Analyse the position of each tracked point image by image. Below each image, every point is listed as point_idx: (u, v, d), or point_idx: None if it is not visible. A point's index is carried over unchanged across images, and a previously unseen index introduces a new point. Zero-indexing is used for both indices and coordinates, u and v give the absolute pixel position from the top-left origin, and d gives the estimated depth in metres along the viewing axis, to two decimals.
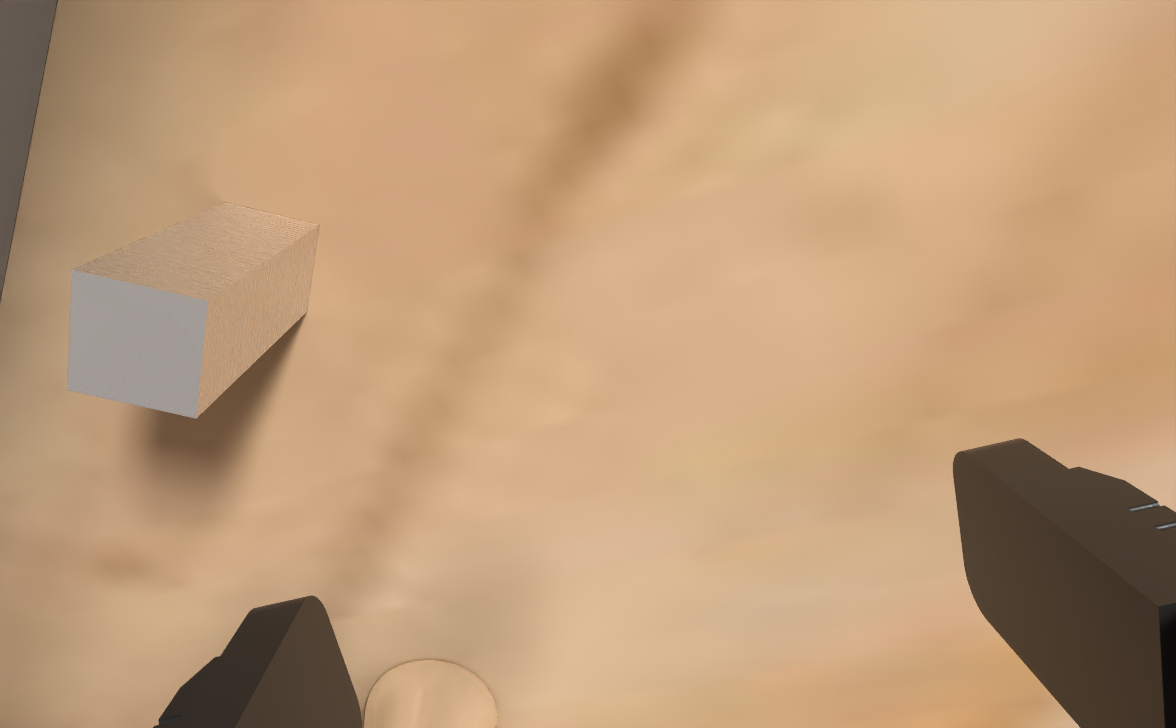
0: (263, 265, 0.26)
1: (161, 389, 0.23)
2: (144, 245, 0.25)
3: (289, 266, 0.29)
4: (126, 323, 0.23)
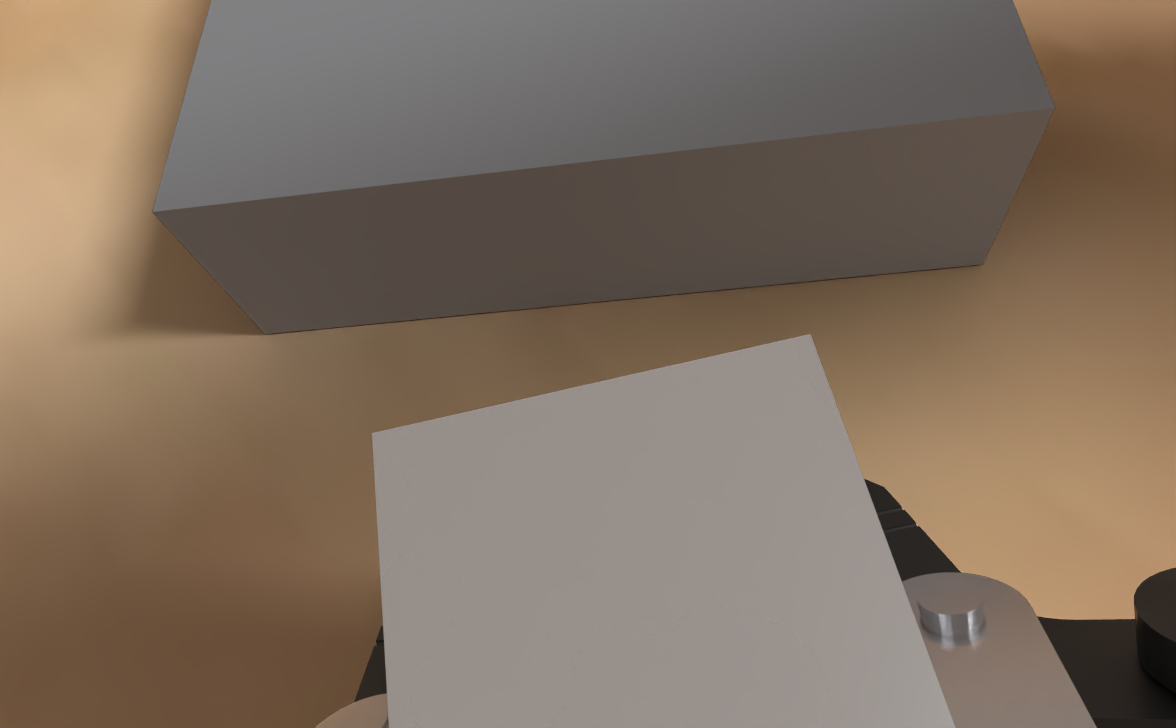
0: None
1: None
2: None
3: None
4: (712, 546, 0.06)
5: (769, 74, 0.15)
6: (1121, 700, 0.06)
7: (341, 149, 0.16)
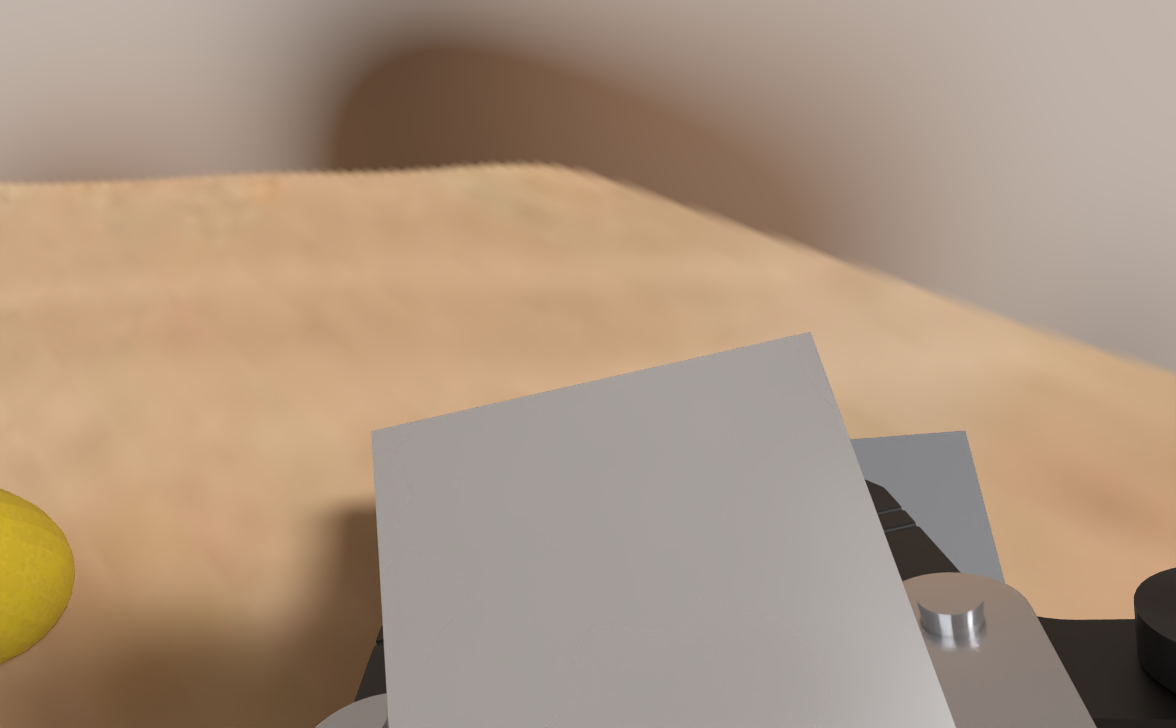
0: None
1: None
2: None
3: None
4: (712, 544, 0.06)
5: None
6: (1121, 700, 0.06)
7: None
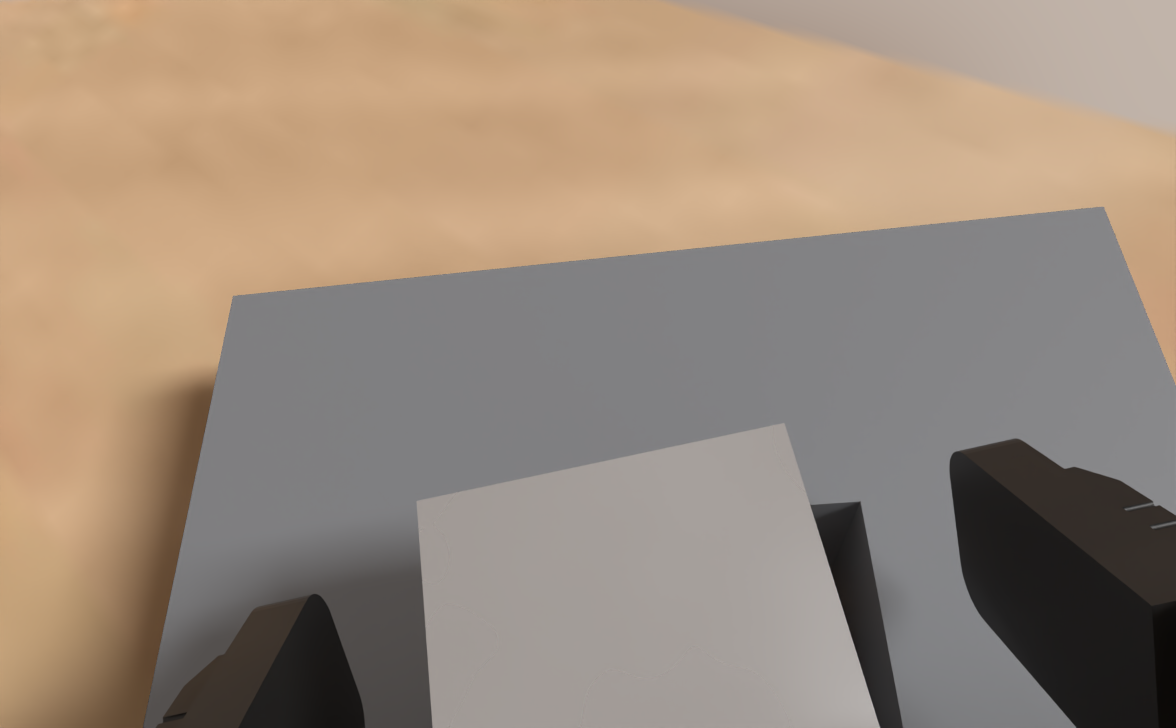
0: None
1: None
2: None
3: None
4: (699, 605, 0.07)
5: None
6: None
7: None
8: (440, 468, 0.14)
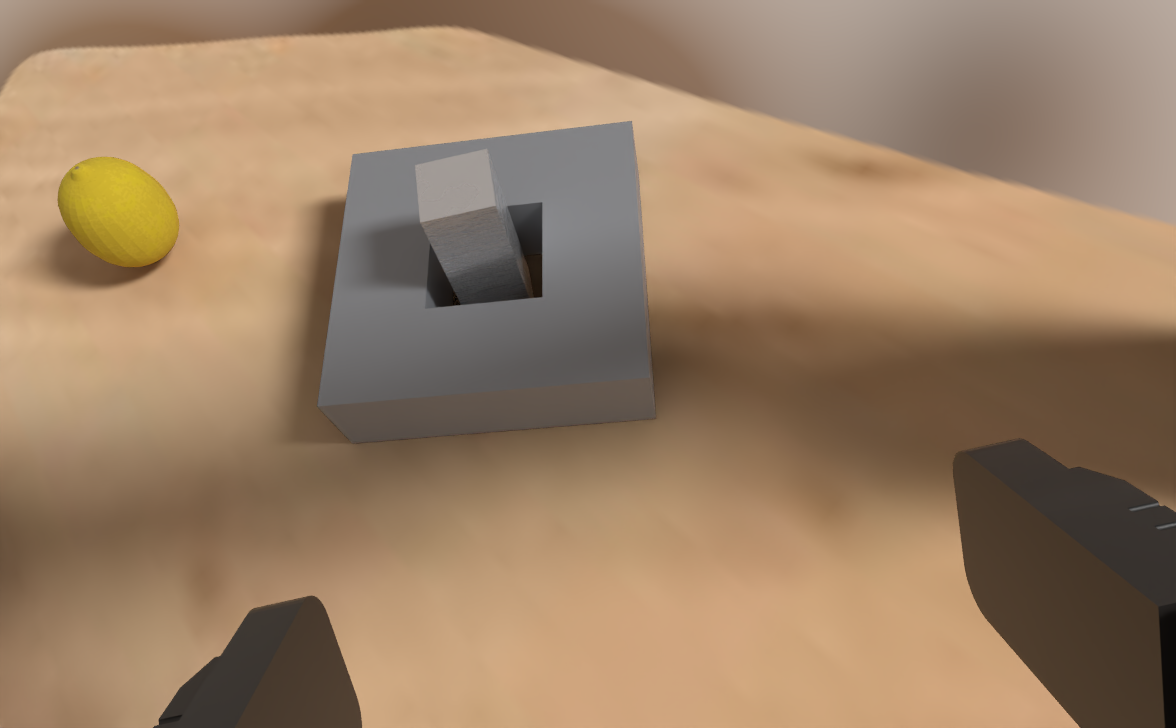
0: (513, 260, 0.42)
1: (432, 202, 0.39)
2: (503, 197, 0.43)
3: (510, 293, 0.44)
4: (466, 177, 0.39)
5: (553, 356, 0.40)
6: None
7: (390, 382, 0.41)
8: None
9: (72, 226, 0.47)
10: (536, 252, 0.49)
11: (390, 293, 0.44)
